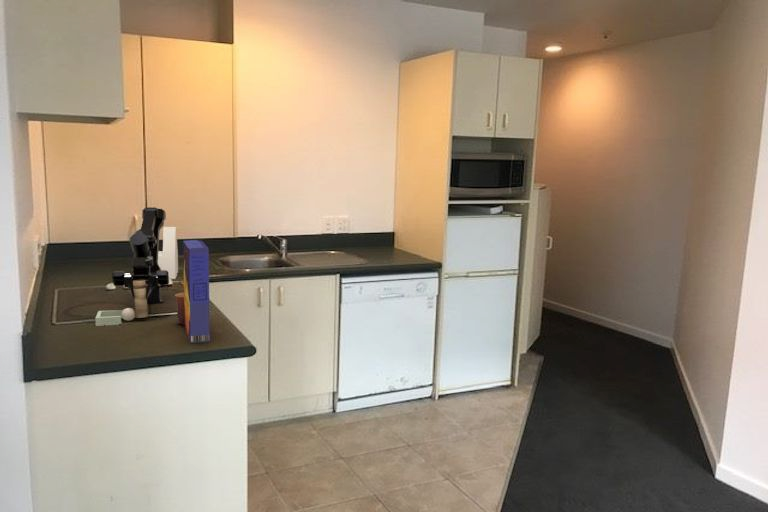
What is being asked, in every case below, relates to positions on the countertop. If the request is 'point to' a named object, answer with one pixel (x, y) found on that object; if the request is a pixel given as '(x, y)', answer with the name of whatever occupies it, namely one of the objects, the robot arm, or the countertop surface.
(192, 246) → the cereal box
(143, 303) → the player peg
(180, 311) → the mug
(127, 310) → the ball
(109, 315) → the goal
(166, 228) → the milk carton
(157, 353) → the countertop surface
